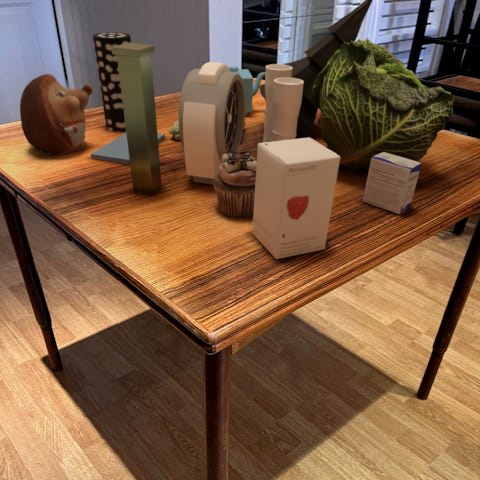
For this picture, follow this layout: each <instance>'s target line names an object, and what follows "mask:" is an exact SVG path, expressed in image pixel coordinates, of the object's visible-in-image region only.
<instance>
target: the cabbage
mask: <svg viewBox="0 0 480 480" xmlns="http://www.w3.org/2000/svg"><path fill="white" fill-rule="evenodd" d="M312 92H313V93H312V96H310V98H312V101H311V103H312V105H313V106H316V107H318V110H320V117H319V118H318V119H317V123H318V125H319V128H320V129H321V138H322V140H323V141H324V143H325V144H326V146H325V147H326V148H327V149H329V150H331V151H333V152H334V153H336V154H337V155H339V156H340V162H339V166H341V165H342V166H344V167H346V168H349V169H351V170H357V169H366V170H369V168H370V163H371V158H372V157H373V156H375V155H377V154H380V153H383V152H386V153H389V154H393V155H396V156H400V157H403V158H407V159H410V160H413V161H417V162H420V160H422V159H423V158H424V157H425V156H426V155H428V150H429V149H430V148H431V147H432V146H433V143H434V142H435V140H436V139H437V138H438V133H439V132H441V131H443V130H445V127H446V125H447V123H448V122H449V121H450V119H451V117H452V116H453V113H454V108H453V103H454V102H455V97H454V95H453V94H452V93H451V92H450V91H446V90H445V89H444V88H443V87H441V86H434V87H428V86H426V85H424V84H422V82H421V81H420V79H419V78H418V77H417V76H416V75H415V73H414V72H413V70H411V69H407V67H406V65H404V63H403V61H402V60H400V59H399V58H397V56H396V55H394V54H393V53H392V51H390V50H389V49H388V48H386V47H385V46H383V45H380V44H377V43H374V42H372V41H371V40H370V39H369V37H367V38H366V39H365V40H363V39H356V40H355V42H354V41H350V43H346V42H344V44H342V46H341V48H340V49H339V50H338V51H336V52H335V53H334V55H333V56H332V57H331V58H330V60H329V61H328V63H327V65H326V66H325V68H324V69H323V70H322V71H321V72H320V73H319V74H318V76H317V78H316V80H315V82H314V85H313V88H312Z"/></svg>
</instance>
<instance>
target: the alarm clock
mask: <svg viewBox="0 0 480 480" xmlns="http://www.w3.org/2000/svg"><path fill="white" fill-rule="evenodd" d="M229 67H230V66H229V65H228V64H226V62H216V61H208V62H206V63H204V64H203V65H202V66H201V67H200V68H194V69H192V70H190V72H188V74H187V75H186V78H185V79H184V82H183V85H182V89H181V91H180V98H179V105H178V107H179V108H178V119H179V134H180V140H179V141H180V144H181V147H182V149H183V151H184V163H185V171H186V176H192V179H193V181H192V182H194V183H200V184H205V185H213V186H214V178H215V176H216V174H217V173H218V170H219V167H220V166H221V164H223V162H222V156H223V155H224V154H227V153H226V152H227V151H230V150H232V151H234V152H238V153H239V149H240V146H241V143H242V138H243V136H242V134H244V129H245V127H244V121H246V119H245V117H246V116H245V89H244V84H243V80H242V78H241V76H240V75H239V74H238V73H237V72H229ZM243 128H244V129H243ZM235 155H236V156H237V154H235Z"/></svg>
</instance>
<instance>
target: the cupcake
mask: <svg viewBox="0 0 480 480" xmlns="http://www.w3.org/2000/svg"><path fill="white" fill-rule="evenodd" d="M226 153H227V154H224V155H223V156H222V162H223V164H221V166H220V167H219V170H218V173H217V174H216V176H215V178H214V185H213V187H214V191H215V193H216V198H217V204H218V205H217V206H218V208H219V210H220V211H221V213H223V214H224V215H226V216H229V217H234V218H238V219H239V218H253V213H254V197H255V182H256V166H257V160H255V158H254V157H253V156H252V155H251V153H252V152H251V151H249V150H244V151H240V152H239V151H238V152H234V151H232V150H230V151H227V152H226ZM235 154H236V155H235ZM237 155H239V156H237Z"/></svg>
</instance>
